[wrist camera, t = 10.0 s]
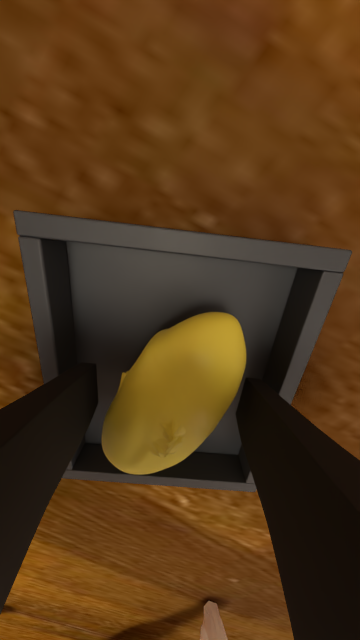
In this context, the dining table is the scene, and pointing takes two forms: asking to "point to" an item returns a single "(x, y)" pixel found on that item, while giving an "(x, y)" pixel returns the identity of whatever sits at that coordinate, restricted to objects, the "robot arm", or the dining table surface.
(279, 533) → the robot arm
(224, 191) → the dining table surface
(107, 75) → the dining table surface
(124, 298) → the tray
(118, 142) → the dining table surface
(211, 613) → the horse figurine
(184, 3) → the dining table surface
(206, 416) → the yellow oval lump
